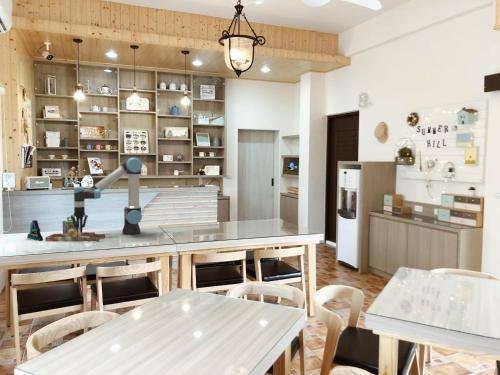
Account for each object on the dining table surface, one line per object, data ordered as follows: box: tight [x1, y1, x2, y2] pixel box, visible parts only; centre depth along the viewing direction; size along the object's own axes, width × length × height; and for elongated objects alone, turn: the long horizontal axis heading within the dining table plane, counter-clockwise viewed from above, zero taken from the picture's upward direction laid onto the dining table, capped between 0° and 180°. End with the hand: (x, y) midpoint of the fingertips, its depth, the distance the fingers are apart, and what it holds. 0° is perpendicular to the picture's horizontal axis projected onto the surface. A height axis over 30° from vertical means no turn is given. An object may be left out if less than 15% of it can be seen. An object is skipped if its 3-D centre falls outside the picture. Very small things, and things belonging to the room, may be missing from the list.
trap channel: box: [45, 231, 106, 243], centre depth 332 cm, size 40×22×3 cm, turn 92°
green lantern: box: [62, 216, 77, 234], centre depth 347 cm, size 9×9×15 cm
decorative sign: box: [26, 219, 44, 242], centre depth 327 cm, size 19×2×15 cm, turn 56°
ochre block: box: [67, 229, 78, 237], centre depth 329 cm, size 7×7×6 cm
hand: (79, 236), depth 329 cm, fingers closed
